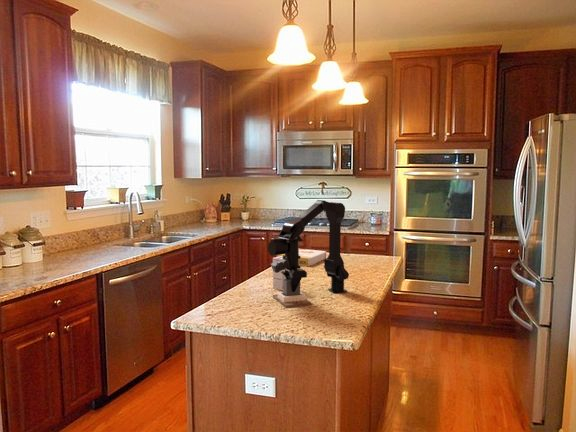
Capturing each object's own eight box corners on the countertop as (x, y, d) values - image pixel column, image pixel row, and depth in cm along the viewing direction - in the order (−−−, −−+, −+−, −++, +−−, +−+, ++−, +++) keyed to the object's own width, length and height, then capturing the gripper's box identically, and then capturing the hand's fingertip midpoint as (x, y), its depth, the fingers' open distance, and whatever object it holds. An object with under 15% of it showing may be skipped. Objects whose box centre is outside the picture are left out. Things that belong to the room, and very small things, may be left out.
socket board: (272, 297, 198) (272, 290, 198) (296, 295, 202) (296, 288, 202) (285, 307, 183) (285, 300, 183) (311, 305, 187) (311, 297, 187)
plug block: (283, 293, 193) (283, 279, 192) (296, 292, 195) (296, 278, 195) (286, 296, 189) (286, 281, 189) (300, 294, 191) (300, 280, 191)
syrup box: (281, 290, 209) (281, 258, 208) (272, 288, 213) (272, 257, 212) (290, 288, 213) (290, 257, 212) (281, 286, 217) (281, 255, 216)
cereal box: (276, 254, 269) (297, 247, 294) (276, 264, 270) (296, 256, 295) (308, 258, 261) (326, 250, 286) (308, 268, 261) (326, 259, 286)
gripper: (266, 250, 197) (266, 286, 198) (280, 258, 179) (280, 298, 181) (290, 249, 200) (290, 284, 202) (307, 256, 183) (307, 295, 184)
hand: (291, 290), depth 192 cm, fingers closed on plug block, 4 cm apart
